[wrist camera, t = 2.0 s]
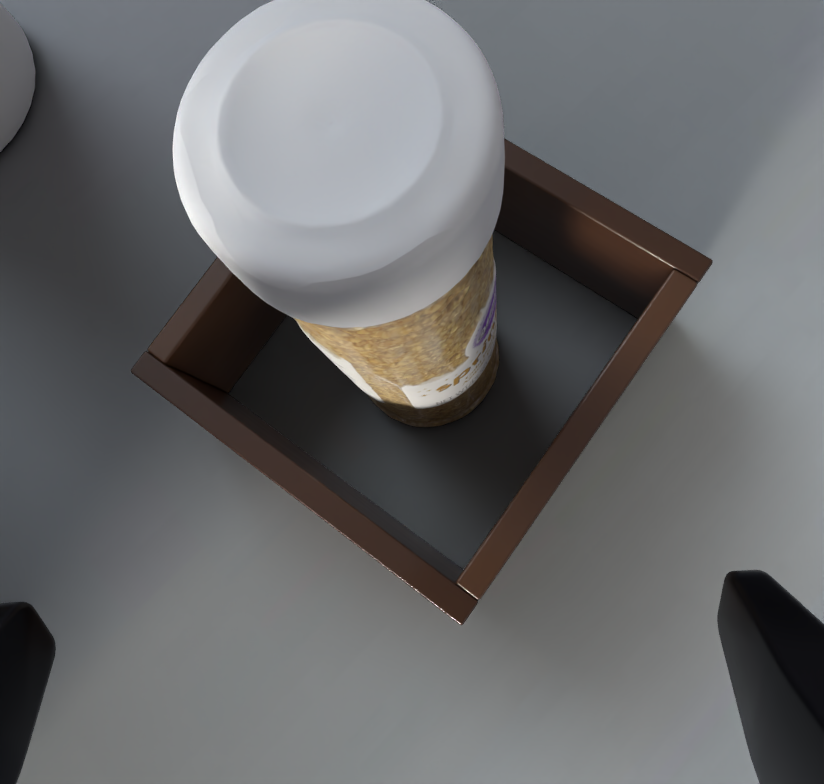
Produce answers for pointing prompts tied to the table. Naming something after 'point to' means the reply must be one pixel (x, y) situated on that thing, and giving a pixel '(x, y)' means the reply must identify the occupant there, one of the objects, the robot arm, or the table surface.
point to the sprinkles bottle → (357, 189)
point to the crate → (461, 589)
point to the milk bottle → (14, 76)
